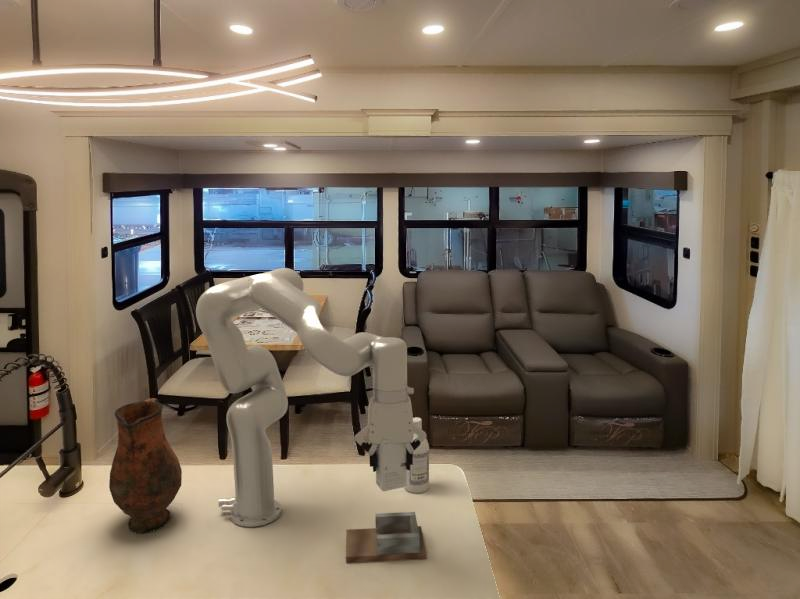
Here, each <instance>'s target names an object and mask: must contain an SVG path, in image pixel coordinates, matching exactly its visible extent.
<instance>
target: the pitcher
mask: <svg viewBox="0 0 800 599" xmlns="http://www.w3.org/2000/svg"><path fill="white" fill-rule="evenodd" d="M163 408H164V405H163V404H162V403H160V400H159V399H158V398H154V397H152V398H146V399H144V400H143V401H137V402H132V403H128V404H125V405H123V406H120V407H118V408H117V409H116V410H115V411H114V416H115V419H116V423H117V424H116V425H117V430H118V433H117V436H118V437H117V447H116V450H115V453H114V456H113V459H112V465H111V467H110V470H109V472H110V473H109V480H108V481H109V483H108V484H109V486H108V487H109V492H110V494H111V497H112V500H113V503H114V504H115V505H116V506H117V507H118V508H119V509H120V510H121V512H123V513H124V514H125V515H127V516H128V517H130V518H129V520H128V521H127V523H128V524H127V528H128V527H129V528H128V530H129V531H131V532H132V531H133V532H132V533H134V532H136V533H135V534H147V532H148V533H151V532H150V531H152V532H154V531H153V530H156V531H157V529H158V530H159V528H160V529H162V528H164V527H165V526H166V525H167V524H168V523H169V522H168V521H171V520H170V519H171V516H172V515H171V512H170V510H169V509H167V508H169V506H170V505H171V504H172V503H173V501H174V500H175V498H176V496H177V495H178V492H179V490H180V488H181V487H182V477H183V476H182V475H183V473H182V472H183V471H182V467H181V464H180V462H179V461H180V460H179V459H178V456H177V454H176V453H175V451H174V449H173V448H172V447H171V445H170V443H169V441H168V439H167V438H166V435H165V434H166V433H165V430H164V425H163ZM167 522H168V523H167ZM166 523H167V524H166ZM165 524H166V525H165ZM164 525H165V526H164ZM161 527H162V528H161Z"/></svg>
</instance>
